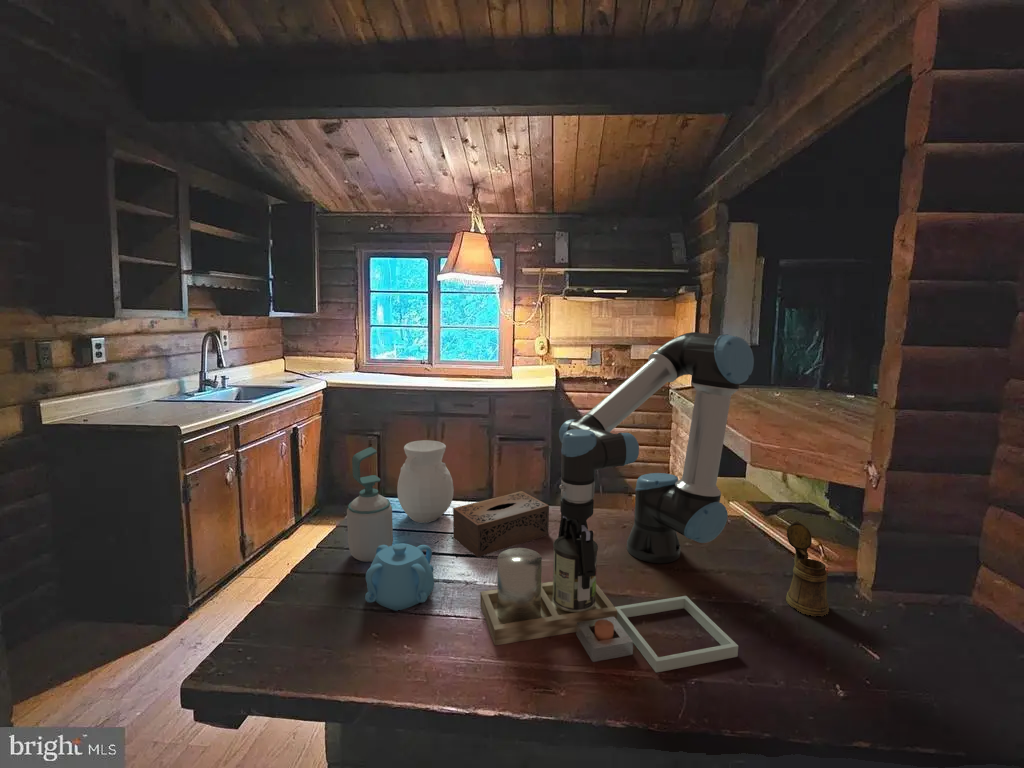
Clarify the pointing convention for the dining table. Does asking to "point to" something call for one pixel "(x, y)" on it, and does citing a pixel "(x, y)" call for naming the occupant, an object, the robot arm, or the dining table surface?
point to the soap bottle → (368, 515)
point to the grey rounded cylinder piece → (518, 585)
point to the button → (604, 630)
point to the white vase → (425, 481)
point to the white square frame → (681, 659)
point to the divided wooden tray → (548, 623)
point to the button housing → (604, 641)
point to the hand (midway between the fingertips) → (574, 586)
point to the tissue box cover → (500, 523)
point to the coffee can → (570, 577)
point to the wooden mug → (806, 575)
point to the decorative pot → (400, 576)
